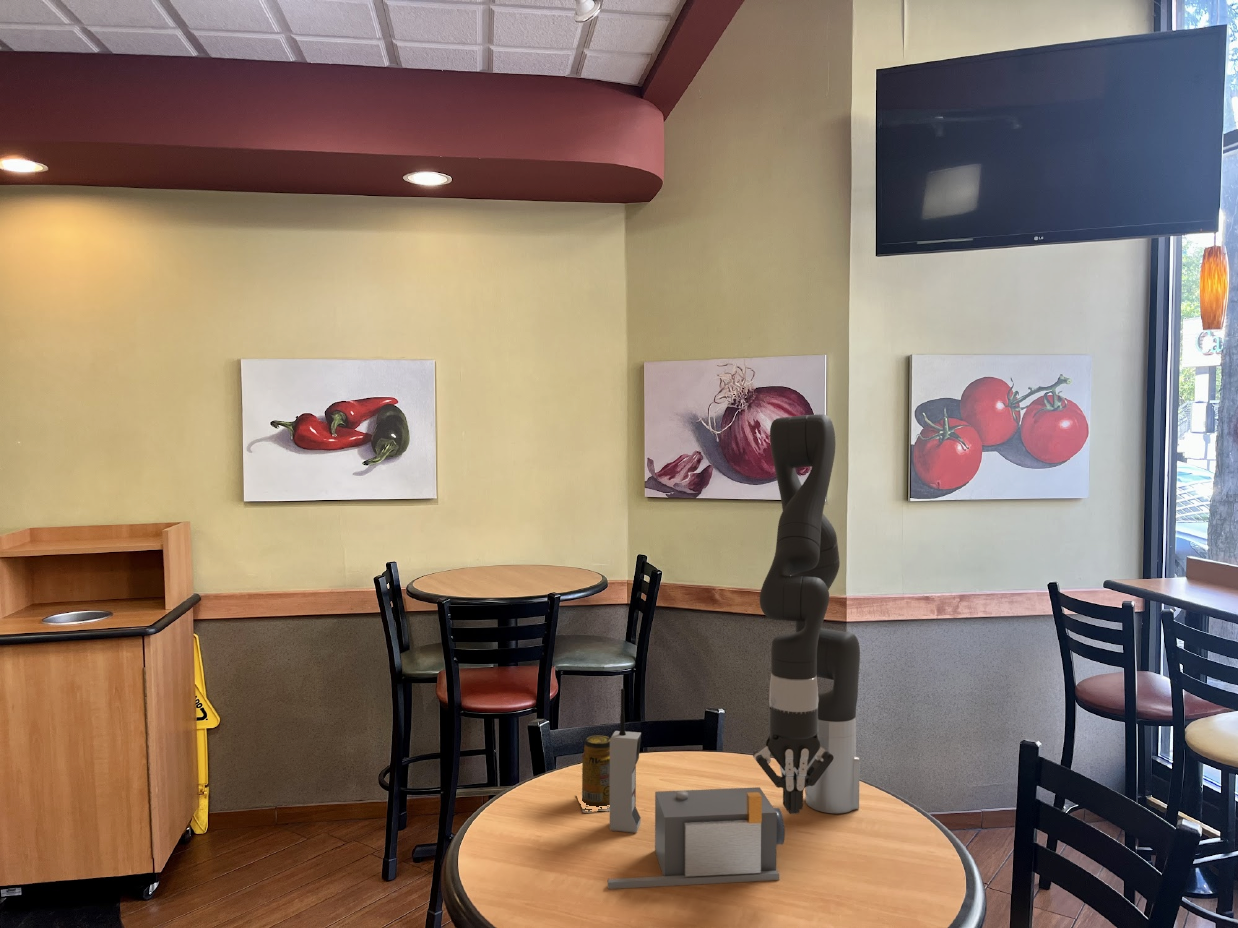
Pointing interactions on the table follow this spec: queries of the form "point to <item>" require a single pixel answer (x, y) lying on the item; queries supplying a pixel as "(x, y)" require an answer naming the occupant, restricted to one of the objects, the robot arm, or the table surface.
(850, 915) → the table surface
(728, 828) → the side door
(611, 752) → the vintage mobile phone
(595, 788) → the yellow drink can
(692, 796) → the grey box machine
